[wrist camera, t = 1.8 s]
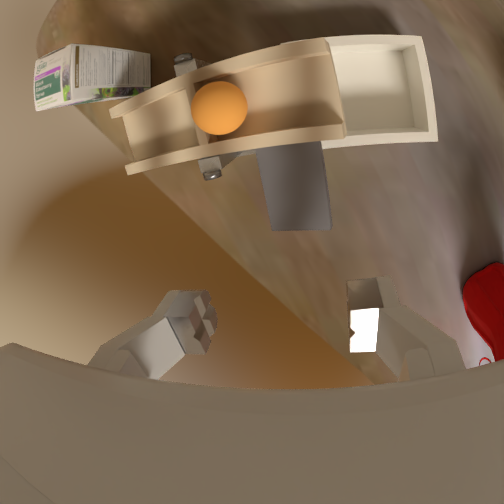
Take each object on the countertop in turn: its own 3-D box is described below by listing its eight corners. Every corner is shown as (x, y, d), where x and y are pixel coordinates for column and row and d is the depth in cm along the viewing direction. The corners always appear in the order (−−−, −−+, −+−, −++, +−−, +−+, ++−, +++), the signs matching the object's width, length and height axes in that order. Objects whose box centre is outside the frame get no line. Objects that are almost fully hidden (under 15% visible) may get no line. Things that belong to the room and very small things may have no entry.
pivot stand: (195, 71, 28) (153, 65, 20) (235, 59, 27) (206, 45, 18) (217, 161, 33) (185, 185, 25) (257, 153, 32) (237, 174, 24)
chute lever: (189, 211, 35) (150, 240, 29) (158, 99, 28) (109, 109, 22) (360, 202, 26) (354, 239, 20) (337, 52, 19) (323, 37, 14)
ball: (201, 89, 20) (174, 91, 17) (248, 76, 18) (227, 73, 15) (213, 135, 22) (187, 144, 18) (260, 125, 20) (241, 132, 17)
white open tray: (284, 51, 25) (280, 43, 21) (406, 44, 22) (421, 36, 17) (304, 143, 30) (303, 151, 26) (421, 134, 27) (438, 141, 22)
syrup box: (116, 100, 31) (33, 115, 19) (115, 60, 28) (32, 60, 16) (152, 94, 30) (70, 103, 18) (151, 51, 27) (70, 41, 15)
